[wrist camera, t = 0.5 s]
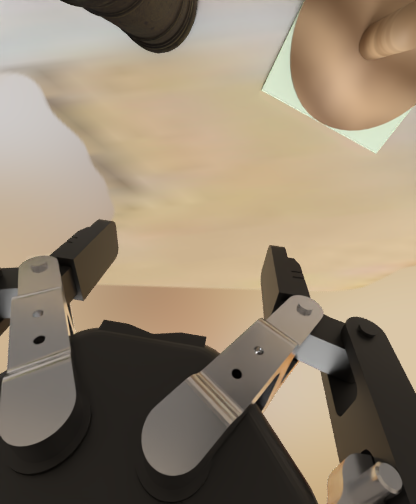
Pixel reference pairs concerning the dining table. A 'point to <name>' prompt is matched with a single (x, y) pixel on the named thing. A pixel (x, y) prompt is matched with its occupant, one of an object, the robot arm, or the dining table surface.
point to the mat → (284, 91)
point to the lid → (355, 61)
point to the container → (147, 20)
